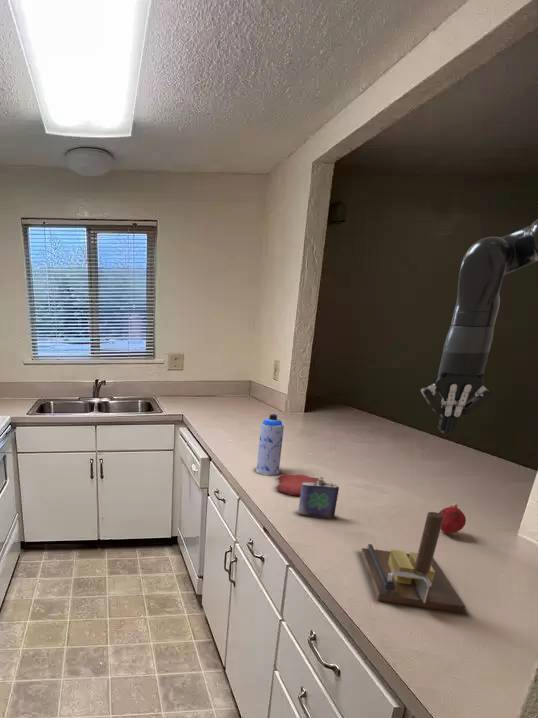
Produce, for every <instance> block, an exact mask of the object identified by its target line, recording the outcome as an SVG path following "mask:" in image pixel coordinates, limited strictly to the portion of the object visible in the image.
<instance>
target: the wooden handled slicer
mask: <svg viewBox="0 0 538 718" xmlns="http://www.w3.org/2000/svg"><path fill="white" fill-rule="evenodd" d="M443 518H444V516H443V515H442V514H440V513H439V512H436V511H429V512H427V515H426V519H425V523H424V527H423V531H422V535H421V538H420V543H419V548H418V550H417V551H418V552H417V553H418V555H417V559H416V563H415V567H414V569H415V570H416V571H418V572H419V574H414V573H407V572H399V571H391V573H389V574H388V578H383V580H382V583H383V585H384V588H385V589H388V590H395V584H394V582H393V580H392V578H393V575H394V576H401V577H409V578H416V579H417V583H416V587H415V588H416V590H417V592H418V593H419V595H420V597H421V599H422V601H423V603H425V602H426V598H427V594H428V590H429V587H430V586H431V585H432V583H431V582H430V580H429V578H428V576H427V575H426V573H429V571H430V568H431V564H432V560H433V558H434V555H435V552H436V548H437V544H438V541H439V537H440V533H441V525H442V522H443Z"/></svg>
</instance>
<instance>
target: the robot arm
mask: <svg viewBox="0 0 538 718" xmlns="http://www.w3.org/2000/svg"><path fill="white" fill-rule="evenodd" d="M537 261H538V218H537V219H536V220H533V222H532V223H531V224H529V225H527V226H526V227H523V228H520V229H518V230H516V231H514V232H511V233H509V234H507V235H503V236H500V237H499V236H487V237H483V238H481V239H478V240H477V241H476V242H474V243H472V245H470V247H468V249H467V250H466V251H465V253H464V255H463V257H462V260H461V263H460V268H459V274H458V281H457V282H458V283H457V295H456V296H457V297H456V303H455V305H454V309H453V313H452V318H451V322H450V325H449V329H448V332H447V334H446V338H445V342H444V343H443V350H442V353H441V354H442V355H441V360H440V364H439V368H438V373H437V376H436V377H435V378H434V379H433V383H432V384H430V385H428V386H427V387H425V386H424V387H421V388H420V393H421V395H422V396H423V398H424V399H425V401H426V402H427V404H428V405H429V407H430V408H431V410H432V411H433V412H435V413H436V414H439V415H440V418H439V422H438V425H437V428H438V430H439V431H440V433H441V434H444V435H445V434H446V435H447V434H448V435H451V434H452V433H453V432H455V431H456V429H457V426H458V421H459V418H460V417H461V416H463V415H464V416H465V415H470V414H471V413H473V412H474V411H475V410H477V409H478V408H479V407H480V406H482V405H483V404H484V403H485V402H486V401H488V400H489V399H490V398H492V397H493V395H494V392H493V391H492V390H490V389H487V388H486V387H485V386H484V380H483V377H484V373H485V369H486V365H487V363H488V357H489V354H490V350H491V346H492V342H493V338H494V329H495V324H496V321H497V317H498V313H499V309H500V304H501V297H500V292H501V287H502V283H503V279H504V277H505V275H508V274H510V273H513V272H515V271H518V270H520V269H522V268H524V267H526V266H529V265H531V264H534V263H535V262H537ZM436 391H437V392H438V394H439V396H440V397H441V405H440V403H439V402H438V400H437V399H436V397H435V396H436V393H437V392H436ZM473 395H474V396H473ZM472 396H473V397H472ZM470 397H472V398H471V399H470ZM468 399H470V400H468ZM467 400H468V401H467Z"/></svg>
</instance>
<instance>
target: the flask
mask: <svg viewBox="0 0 538 718" xmlns="http://www.w3.org/2000/svg"><path fill="white" fill-rule="evenodd" d="M323 479H324V477H323V476H320V477H318V481H317V483H303V484H302V489H301V496H299V502H298V503H299V504H298V511H297V513H298V515H302V516H304V517H307V516H309V517H317V518H318V517H320V518H328V519H333V518H335V514H336V509H337V501H338V495H339V490H340V487H339V486H338V485H337V484H335V483H332V482H326V481H325V480H323Z"/></svg>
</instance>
